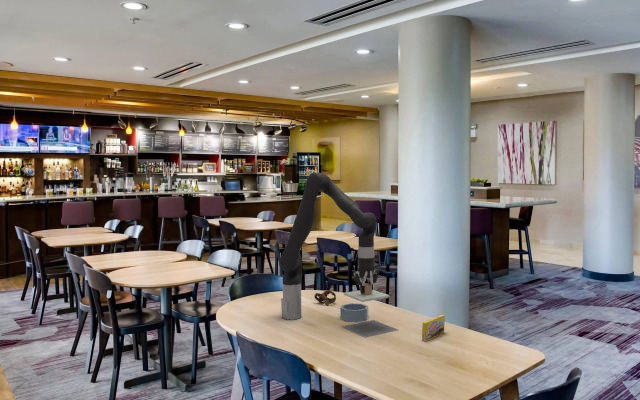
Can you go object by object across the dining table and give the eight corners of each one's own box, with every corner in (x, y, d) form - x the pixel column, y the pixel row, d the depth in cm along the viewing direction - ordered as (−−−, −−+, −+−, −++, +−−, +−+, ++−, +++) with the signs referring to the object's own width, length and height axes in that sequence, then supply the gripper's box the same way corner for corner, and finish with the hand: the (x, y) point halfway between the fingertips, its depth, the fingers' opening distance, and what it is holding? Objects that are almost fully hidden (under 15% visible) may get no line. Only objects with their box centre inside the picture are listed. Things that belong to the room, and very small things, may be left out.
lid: (362, 302, 234) (362, 289, 233) (343, 294, 247) (343, 283, 246) (389, 297, 241) (389, 285, 241) (370, 290, 254) (370, 279, 254)
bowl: (351, 324, 252) (350, 311, 251) (336, 317, 263) (336, 306, 262) (373, 319, 258) (372, 307, 258) (357, 313, 269) (357, 302, 269)
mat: (364, 338, 230) (364, 337, 230) (341, 327, 246) (341, 326, 246) (398, 331, 240) (398, 329, 240) (373, 321, 256) (373, 319, 256)
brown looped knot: (333, 301, 297) (337, 290, 293) (333, 313, 289) (337, 302, 284) (313, 297, 296) (316, 285, 292) (311, 308, 288) (315, 297, 284)
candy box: (425, 342, 224) (425, 323, 224) (421, 341, 226) (421, 322, 225) (445, 332, 236) (444, 314, 236) (440, 332, 238) (440, 313, 237)
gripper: (373, 253, 250) (373, 289, 251) (348, 256, 242) (349, 293, 244) (383, 255, 243) (383, 292, 244) (358, 258, 236) (358, 296, 237)
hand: (366, 292), depth 244 cm, fingers closed on lid, 3 cm apart
